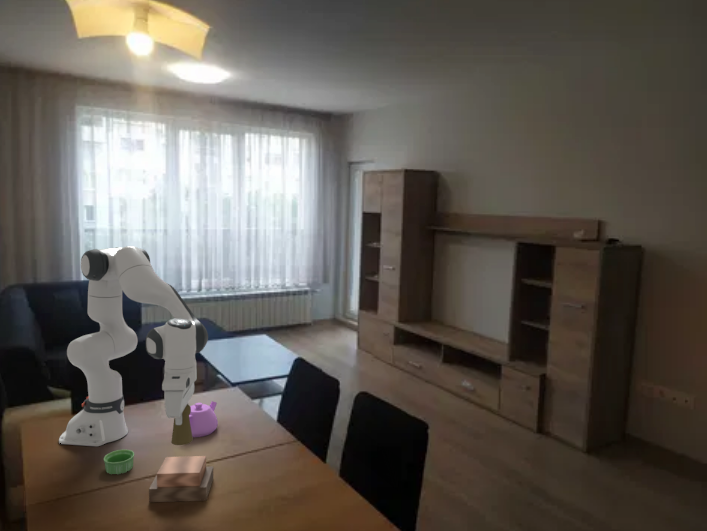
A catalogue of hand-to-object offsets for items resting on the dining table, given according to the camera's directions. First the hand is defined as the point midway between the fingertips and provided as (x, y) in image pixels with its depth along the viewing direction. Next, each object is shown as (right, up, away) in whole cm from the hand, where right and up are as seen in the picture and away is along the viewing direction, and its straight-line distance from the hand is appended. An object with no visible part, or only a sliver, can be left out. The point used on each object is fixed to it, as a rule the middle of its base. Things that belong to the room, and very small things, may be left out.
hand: (181, 420), depth 150 cm
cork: (0, -7, +1) cm, 7 cm away
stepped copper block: (0, -22, +2) cm, 22 cm away
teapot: (-8, -17, +44) cm, 48 cm away
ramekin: (-25, -20, +14) cm, 35 cm away
